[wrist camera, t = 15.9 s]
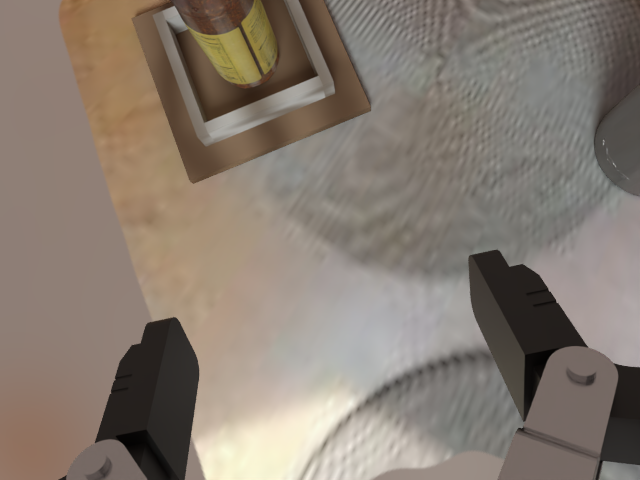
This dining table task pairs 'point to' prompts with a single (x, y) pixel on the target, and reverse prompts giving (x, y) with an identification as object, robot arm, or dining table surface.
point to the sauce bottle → (233, 38)
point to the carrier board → (252, 103)
